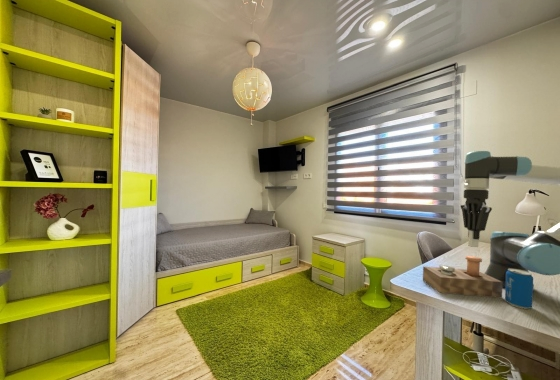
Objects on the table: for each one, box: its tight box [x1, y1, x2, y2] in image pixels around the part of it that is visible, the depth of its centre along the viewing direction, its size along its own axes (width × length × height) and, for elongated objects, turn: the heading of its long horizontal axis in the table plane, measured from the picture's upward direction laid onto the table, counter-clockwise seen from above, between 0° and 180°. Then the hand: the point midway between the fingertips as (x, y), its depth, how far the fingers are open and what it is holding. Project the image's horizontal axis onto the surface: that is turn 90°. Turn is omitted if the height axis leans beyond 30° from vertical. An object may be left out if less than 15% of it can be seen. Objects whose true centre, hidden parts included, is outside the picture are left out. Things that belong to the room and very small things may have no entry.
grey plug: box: [438, 264, 456, 275], centre depth 89 cm, size 5×5×7 cm
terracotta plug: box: [465, 255, 483, 277], centre depth 88 cm, size 5×5×7 cm
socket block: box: [422, 265, 503, 299], centre depth 88 cm, size 22×12×6 cm, turn 84°
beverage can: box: [504, 269, 534, 310], centre depth 76 cm, size 6×6×12 cm
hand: (473, 246), depth 88 cm, fingers closed
